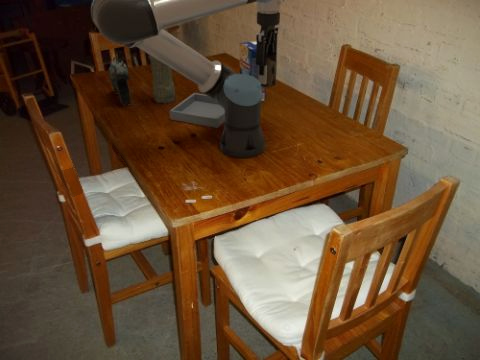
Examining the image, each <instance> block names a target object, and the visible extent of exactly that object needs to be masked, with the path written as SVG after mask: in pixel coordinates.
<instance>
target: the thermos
mask: <svg viewBox="0 0 480 360" xmlns="http://www.w3.org/2000/svg"><path fill="white" fill-rule="evenodd" d="M168 29H169V28H166V29H164V30H165V31H167V32H168V33H169V30H168ZM148 58H149V60H150V65H151V72H152V73H151V74H152V84H151V85H152V94H153V101H154V102H155V101H156V102H158V103H157V104H159V103H164V104H163V105H165V104H166V105H168V104H171V103H173V102H175V101H176V96H175V95H176V87H175V83H174V81H173V69H172V68H170V67H169V66H167V65H165V64H164V63H162V62H161V61H159V60H157V59H156V58H154V57H152V56H151V55H149V54H148ZM156 102H155V103H156ZM167 103H168V104H167Z"/></svg>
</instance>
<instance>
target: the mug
mask: <svg viewBox="0 0 480 360" xmlns="http://www.w3.org/2000/svg"><path fill="white" fill-rule="evenodd" d="M277 55H278V52H277V53H275V52H270V51H268V53H267V60H266V65H267V79H266V85H265V84H261V86H262V87H266V89H267V88H268V89H270V88H273V87H276V85H277V83H276V82H277V69H278V68H277V66H278V64H277V63H278V60H277V57H278V56H277Z"/></svg>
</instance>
